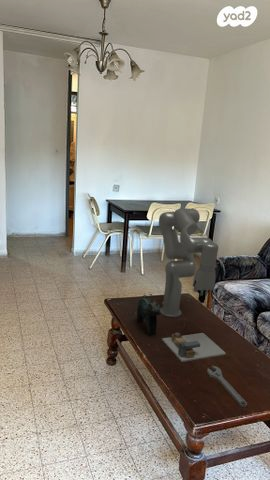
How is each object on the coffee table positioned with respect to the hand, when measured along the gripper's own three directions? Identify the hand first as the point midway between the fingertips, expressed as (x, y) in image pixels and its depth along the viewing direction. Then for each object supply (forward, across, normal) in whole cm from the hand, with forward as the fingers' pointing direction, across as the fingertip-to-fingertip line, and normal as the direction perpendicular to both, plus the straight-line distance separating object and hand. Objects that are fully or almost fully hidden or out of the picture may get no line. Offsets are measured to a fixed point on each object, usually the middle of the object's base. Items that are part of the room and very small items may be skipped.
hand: (201, 301), depth 180 cm
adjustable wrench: (+19, +8, +38) cm, 44 cm away
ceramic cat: (+21, +22, -15) cm, 34 cm away
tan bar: (+19, +12, +9) cm, 24 cm away
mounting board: (+20, +6, +8) cm, 22 cm away
